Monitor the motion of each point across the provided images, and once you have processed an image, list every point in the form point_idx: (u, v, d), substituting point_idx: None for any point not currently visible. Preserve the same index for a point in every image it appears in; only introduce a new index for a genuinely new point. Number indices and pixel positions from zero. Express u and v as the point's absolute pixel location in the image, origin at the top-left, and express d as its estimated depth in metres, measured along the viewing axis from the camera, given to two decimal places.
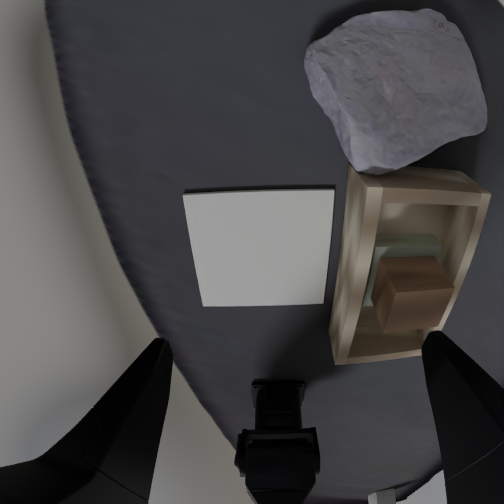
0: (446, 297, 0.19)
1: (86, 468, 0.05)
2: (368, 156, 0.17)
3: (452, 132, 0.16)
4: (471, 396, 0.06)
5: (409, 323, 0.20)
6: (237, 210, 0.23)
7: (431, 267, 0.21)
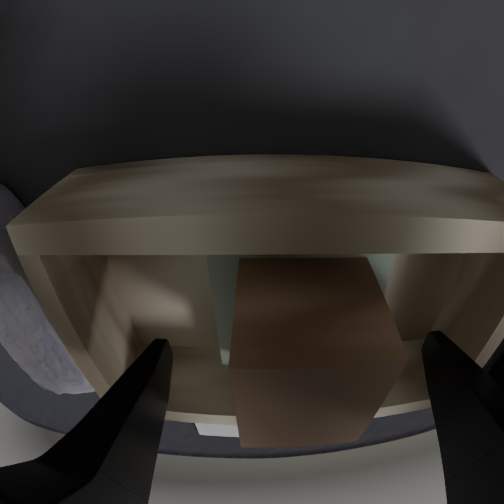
0: (270, 380, 0.06)
1: (86, 468, 0.05)
2: (85, 387, 0.13)
3: (7, 278, 0.10)
4: (471, 396, 0.06)
5: (348, 421, 0.08)
6: None
7: None
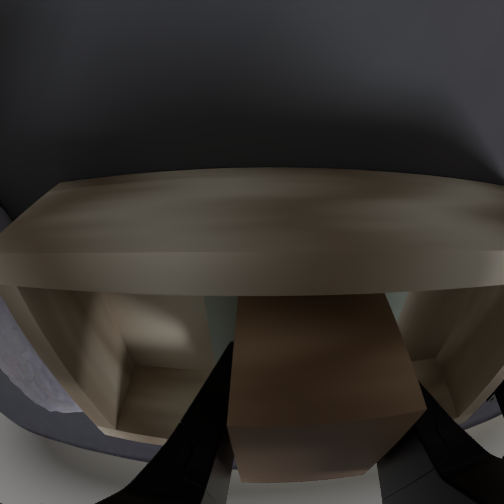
0: (275, 435, 0.05)
1: (191, 490, 0.05)
2: (77, 408, 0.12)
3: None
4: None
5: (356, 461, 0.07)
6: None
7: None
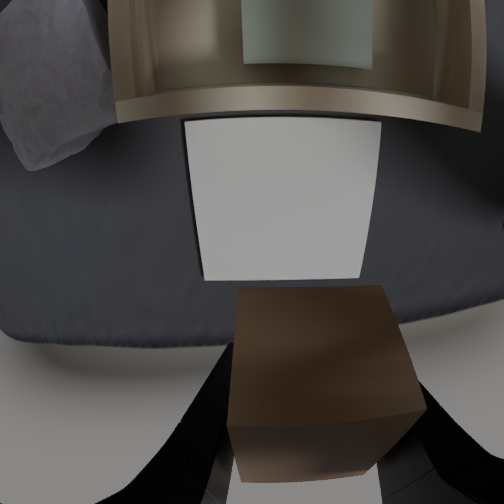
0: (275, 435, 0.05)
1: (191, 490, 0.05)
2: (94, 111, 0.12)
3: (68, 3, 0.09)
4: None
5: (356, 461, 0.07)
6: (219, 231, 0.20)
7: None
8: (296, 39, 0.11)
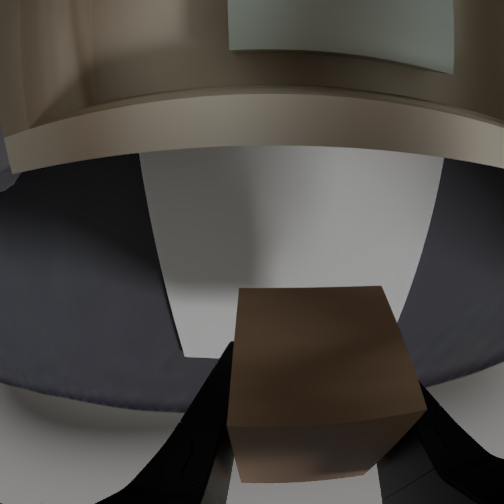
0: (275, 435, 0.05)
1: (191, 490, 0.05)
2: None
3: None
4: None
5: (356, 461, 0.07)
6: (200, 305, 0.14)
7: None
8: (329, 7, 0.05)
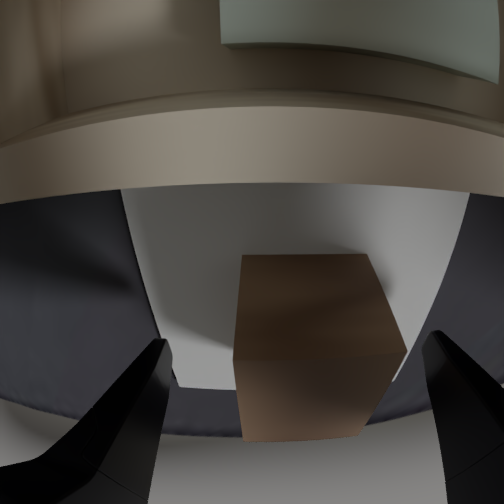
0: (273, 372, 0.07)
1: (86, 468, 0.05)
2: None
3: None
4: (471, 396, 0.06)
5: (349, 414, 0.08)
6: (194, 339, 0.12)
7: None
8: None
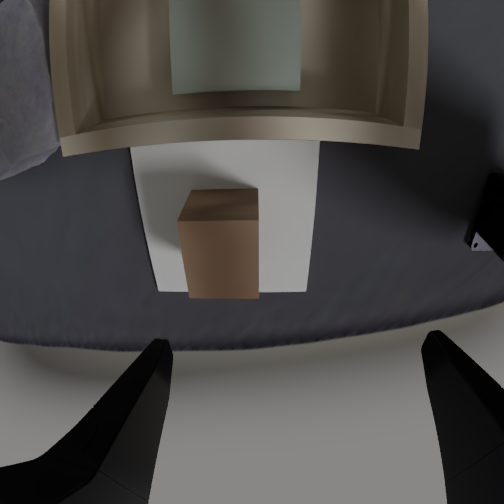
0: (195, 229, 0.15)
1: (86, 468, 0.05)
2: (44, 135, 0.13)
3: (28, 30, 0.10)
4: (471, 396, 0.06)
5: (244, 270, 0.17)
6: (167, 247, 0.21)
7: None
8: (221, 66, 0.12)
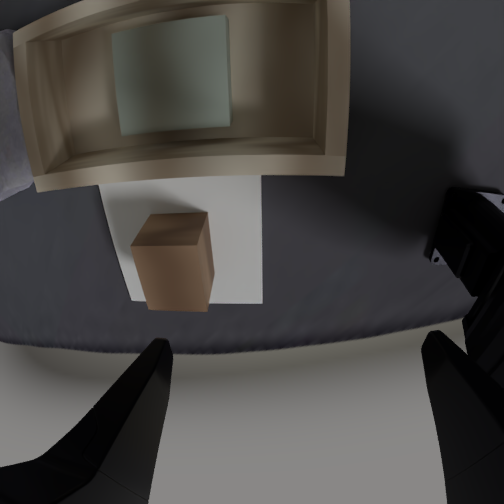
0: (145, 252, 0.17)
1: (86, 468, 0.05)
2: (23, 171, 0.15)
3: (3, 77, 0.12)
4: (471, 396, 0.06)
5: (190, 287, 0.18)
6: None
7: None
8: (159, 109, 0.14)
